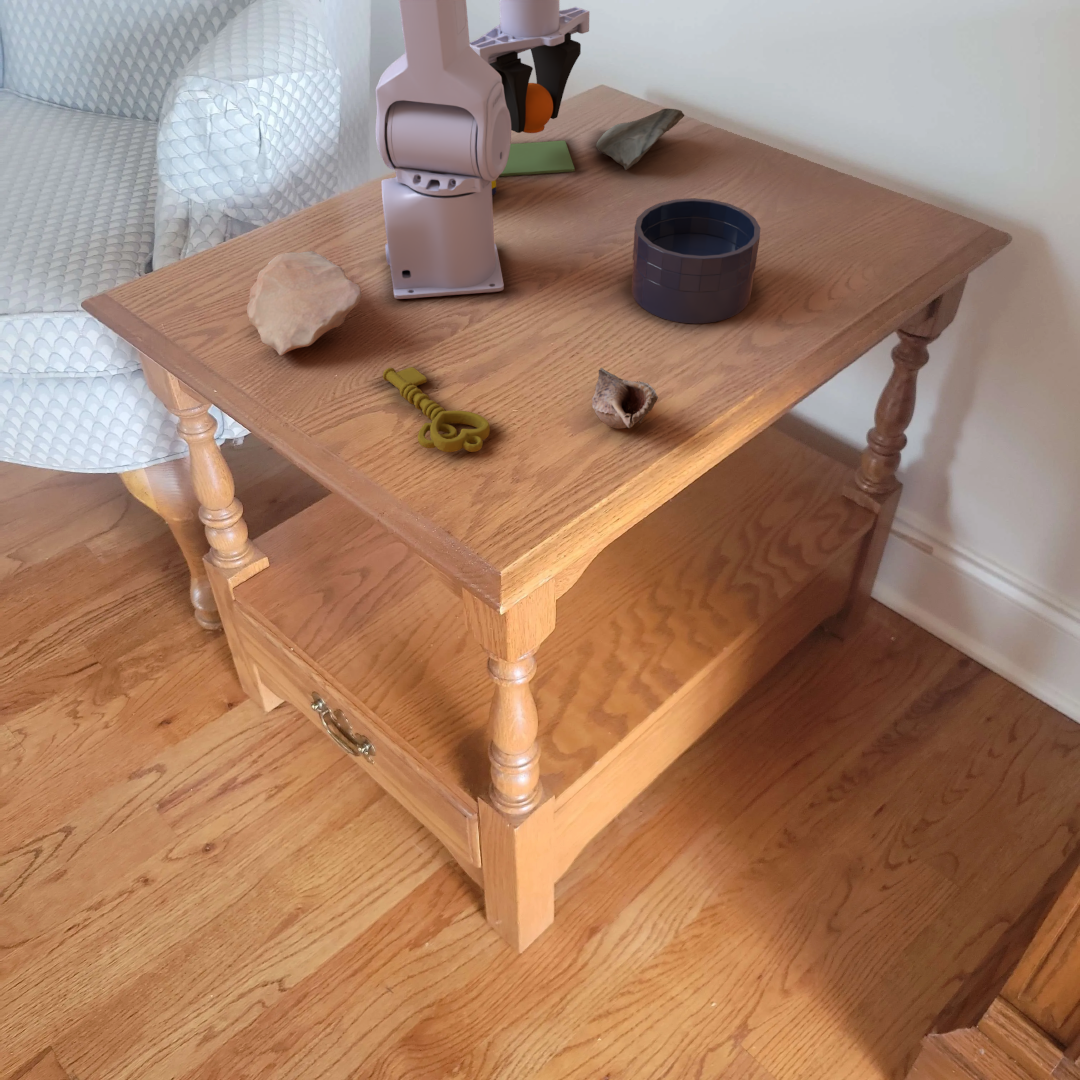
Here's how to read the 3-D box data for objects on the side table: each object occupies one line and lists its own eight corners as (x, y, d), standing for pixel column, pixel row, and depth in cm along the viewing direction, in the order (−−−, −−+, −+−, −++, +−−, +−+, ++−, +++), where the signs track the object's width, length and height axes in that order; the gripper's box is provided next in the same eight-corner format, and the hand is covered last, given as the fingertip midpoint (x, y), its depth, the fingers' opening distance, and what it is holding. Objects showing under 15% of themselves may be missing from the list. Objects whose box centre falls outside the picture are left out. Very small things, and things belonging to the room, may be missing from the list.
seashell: (648, 451, 74) (598, 456, 73) (618, 369, 78) (570, 373, 77) (665, 412, 70) (613, 417, 69) (632, 328, 74) (582, 332, 73)
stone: (578, 184, 104) (670, 168, 100) (569, 145, 102) (662, 127, 98) (609, 151, 112) (696, 136, 108) (601, 114, 110) (689, 97, 106)
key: (411, 371, 80) (356, 391, 77) (411, 357, 79) (355, 376, 76) (503, 445, 73) (446, 468, 71) (503, 430, 72) (446, 454, 70)
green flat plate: (497, 176, 103) (497, 174, 103) (491, 147, 108) (491, 145, 108) (574, 171, 104) (574, 168, 104) (565, 142, 109) (565, 140, 109)
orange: (530, 141, 102) (530, 96, 99) (501, 128, 104) (500, 84, 101) (562, 128, 104) (562, 84, 101) (532, 115, 106) (531, 72, 103)
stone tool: (257, 346, 77) (212, 264, 87) (295, 386, 80) (247, 303, 90) (349, 274, 77) (294, 200, 87) (383, 316, 80) (326, 241, 90)
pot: (644, 328, 83) (648, 262, 79) (622, 265, 90) (625, 202, 86) (764, 318, 84) (775, 253, 80) (733, 257, 91) (741, 194, 87)
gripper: (499, 4, 88) (505, 156, 98) (613, -32, 95) (608, 112, 105) (447, -13, 92) (458, 134, 101) (561, -47, 99) (561, 94, 108)
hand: (531, 122), depth 103 cm, fingers closed on orange, 4 cm apart
